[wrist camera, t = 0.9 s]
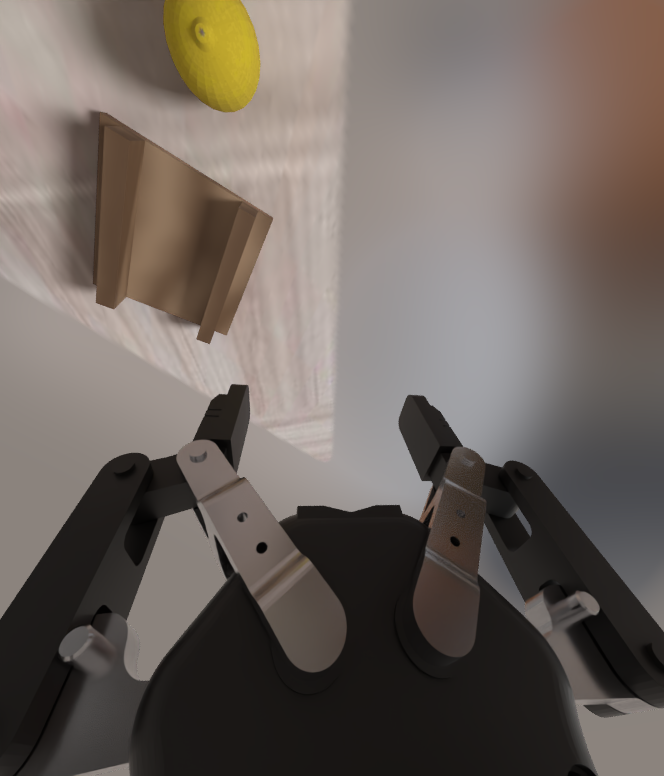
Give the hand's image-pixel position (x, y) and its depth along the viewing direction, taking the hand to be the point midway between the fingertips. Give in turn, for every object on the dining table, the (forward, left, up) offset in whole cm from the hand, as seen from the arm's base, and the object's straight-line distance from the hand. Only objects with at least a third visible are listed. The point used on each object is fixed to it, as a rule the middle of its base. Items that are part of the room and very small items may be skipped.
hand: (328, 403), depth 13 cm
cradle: (-12, -6, -23) cm, 26 cm away
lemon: (-12, +9, -23) cm, 28 cm away
